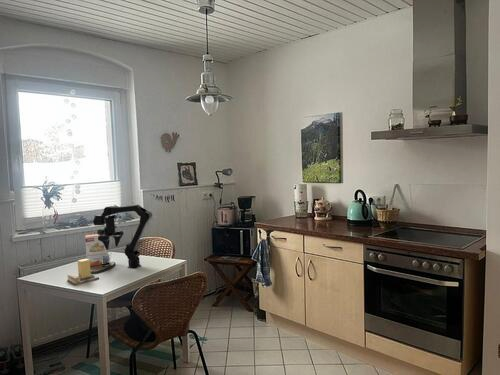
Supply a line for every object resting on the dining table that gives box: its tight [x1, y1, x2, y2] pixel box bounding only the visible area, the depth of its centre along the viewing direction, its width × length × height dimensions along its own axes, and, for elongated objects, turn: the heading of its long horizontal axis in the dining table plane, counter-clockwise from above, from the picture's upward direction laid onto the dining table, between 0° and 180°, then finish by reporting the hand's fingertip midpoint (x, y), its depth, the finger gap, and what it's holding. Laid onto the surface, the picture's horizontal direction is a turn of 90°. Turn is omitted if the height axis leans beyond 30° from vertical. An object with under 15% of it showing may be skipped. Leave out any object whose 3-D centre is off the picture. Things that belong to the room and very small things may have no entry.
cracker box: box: [84, 233, 109, 267], centre depth 257 cm, size 14×6×21 cm, turn 112°
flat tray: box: [66, 273, 100, 286], centre depth 223 cm, size 14×12×4 cm
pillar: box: [77, 258, 91, 279], centre depth 223 cm, size 5×5×11 cm
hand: (111, 248), depth 248 cm, fingers open, 9 cm apart
